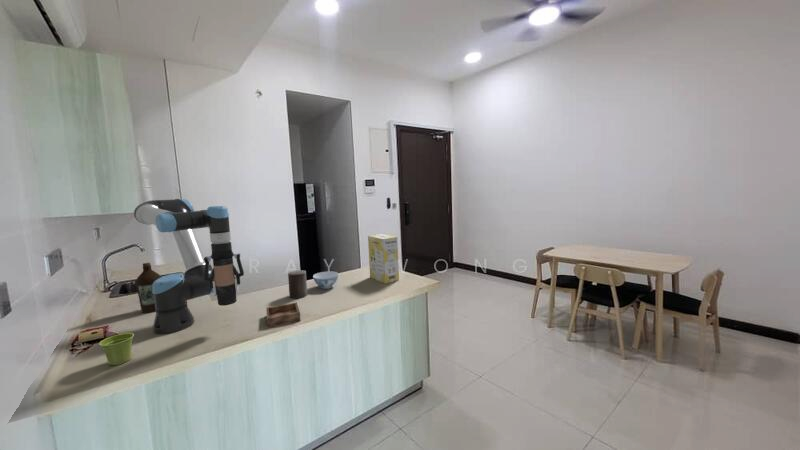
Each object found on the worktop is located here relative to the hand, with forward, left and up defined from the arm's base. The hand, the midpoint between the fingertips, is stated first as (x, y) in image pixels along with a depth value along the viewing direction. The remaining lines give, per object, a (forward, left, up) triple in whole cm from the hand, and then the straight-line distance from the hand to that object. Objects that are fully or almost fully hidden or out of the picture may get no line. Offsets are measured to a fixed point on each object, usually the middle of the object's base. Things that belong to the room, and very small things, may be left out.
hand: (226, 293), depth 136 cm
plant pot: (-35, -11, -16) cm, 40 cm away
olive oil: (-40, +46, -16) cm, 63 cm away
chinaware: (+49, +36, -16) cm, 63 cm away
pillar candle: (+32, +29, -16) cm, 46 cm away
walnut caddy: (+22, 0, -16) cm, 27 cm away
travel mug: (0, 0, -4) cm, 4 cm away
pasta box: (+86, +34, -16) cm, 94 cm away
